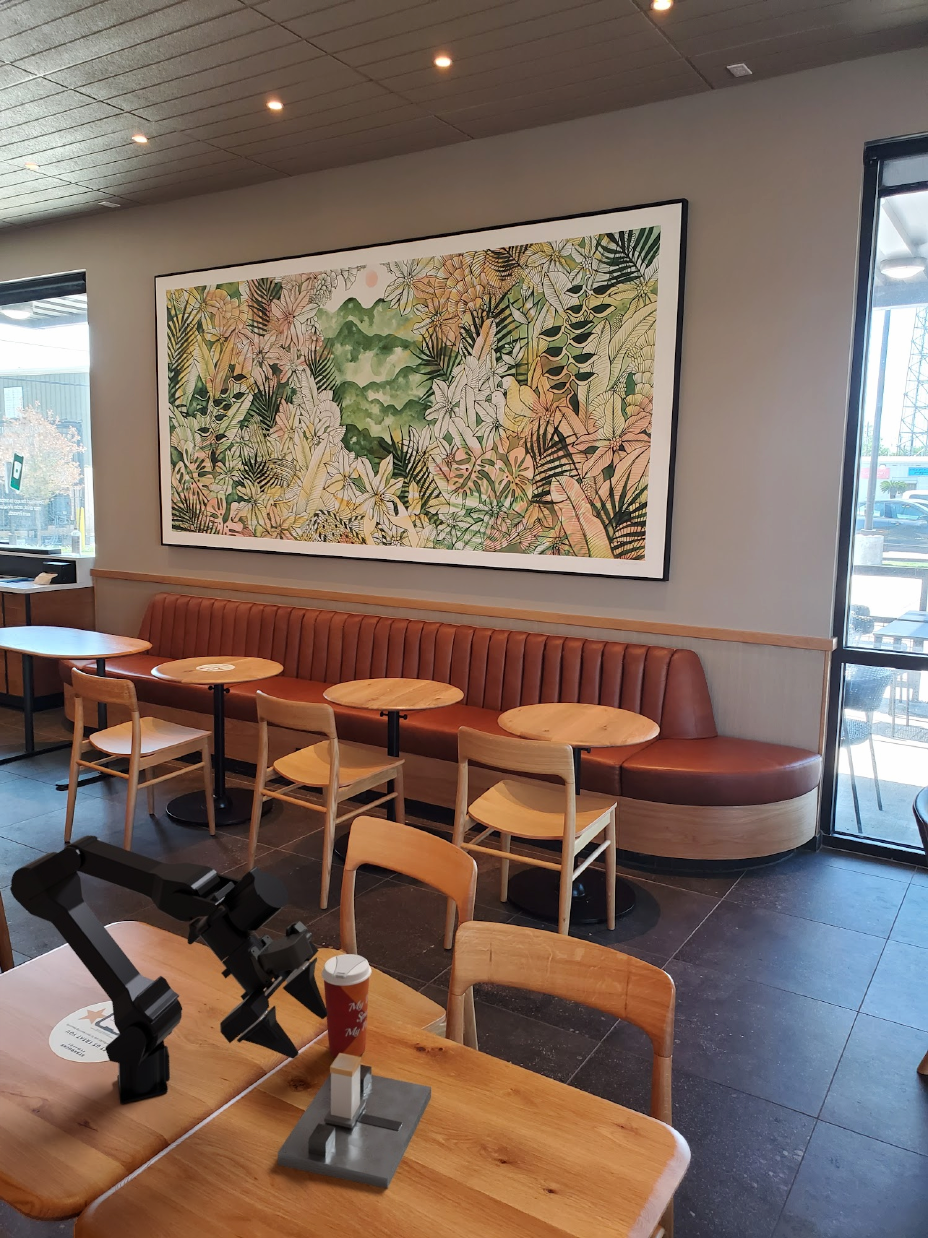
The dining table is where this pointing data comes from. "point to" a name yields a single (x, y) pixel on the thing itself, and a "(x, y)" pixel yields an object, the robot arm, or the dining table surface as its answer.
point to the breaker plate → (358, 1132)
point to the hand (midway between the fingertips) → (311, 1036)
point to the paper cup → (346, 1003)
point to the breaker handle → (345, 1091)
